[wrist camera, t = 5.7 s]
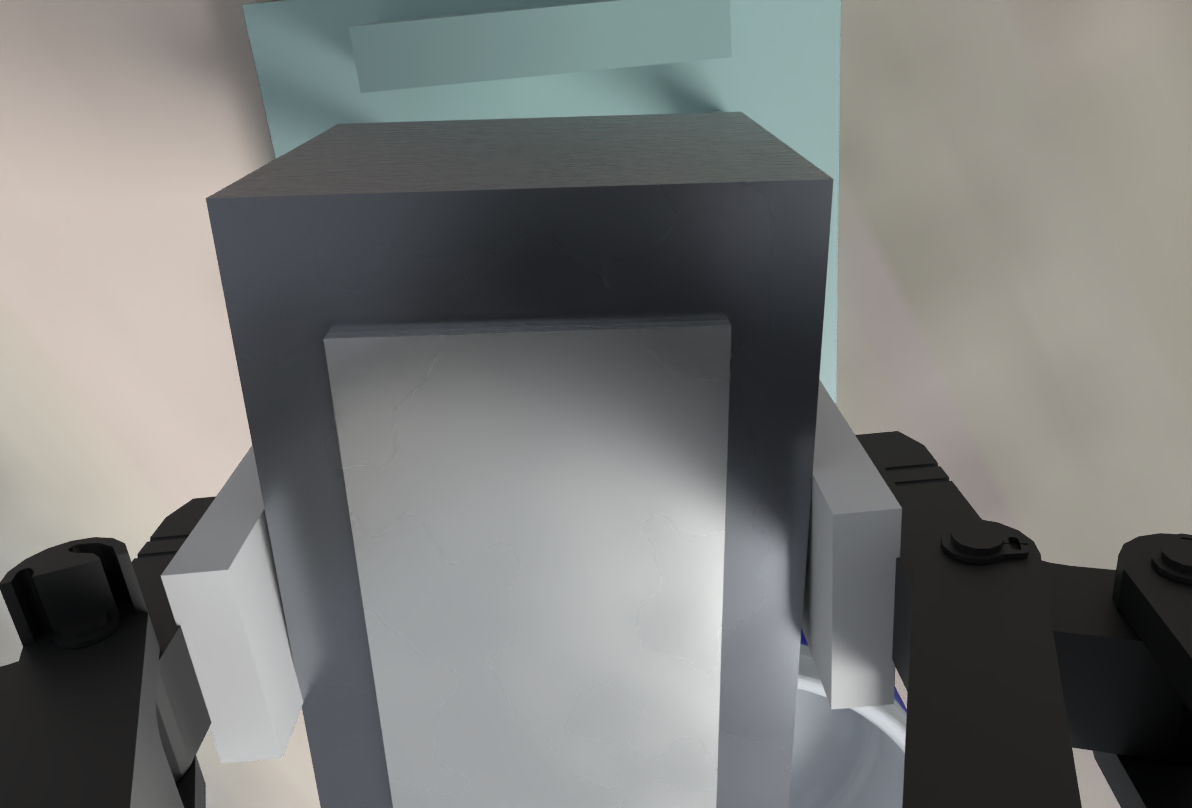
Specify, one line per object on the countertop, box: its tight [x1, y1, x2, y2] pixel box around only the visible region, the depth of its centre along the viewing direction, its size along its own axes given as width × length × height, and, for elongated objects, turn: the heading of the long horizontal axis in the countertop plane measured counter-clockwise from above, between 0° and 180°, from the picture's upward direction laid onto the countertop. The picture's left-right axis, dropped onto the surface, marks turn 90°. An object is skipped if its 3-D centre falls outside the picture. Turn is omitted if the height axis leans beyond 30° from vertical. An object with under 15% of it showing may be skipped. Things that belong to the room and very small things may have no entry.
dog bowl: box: [789, 629, 907, 808], centre depth 34 cm, size 15×15×6 cm
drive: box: [206, 112, 834, 808], centre depth 15 cm, size 10×6×6 cm, turn 2°
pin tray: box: [242, 0, 841, 404], centre depth 27 cm, size 16×16×4 cm
